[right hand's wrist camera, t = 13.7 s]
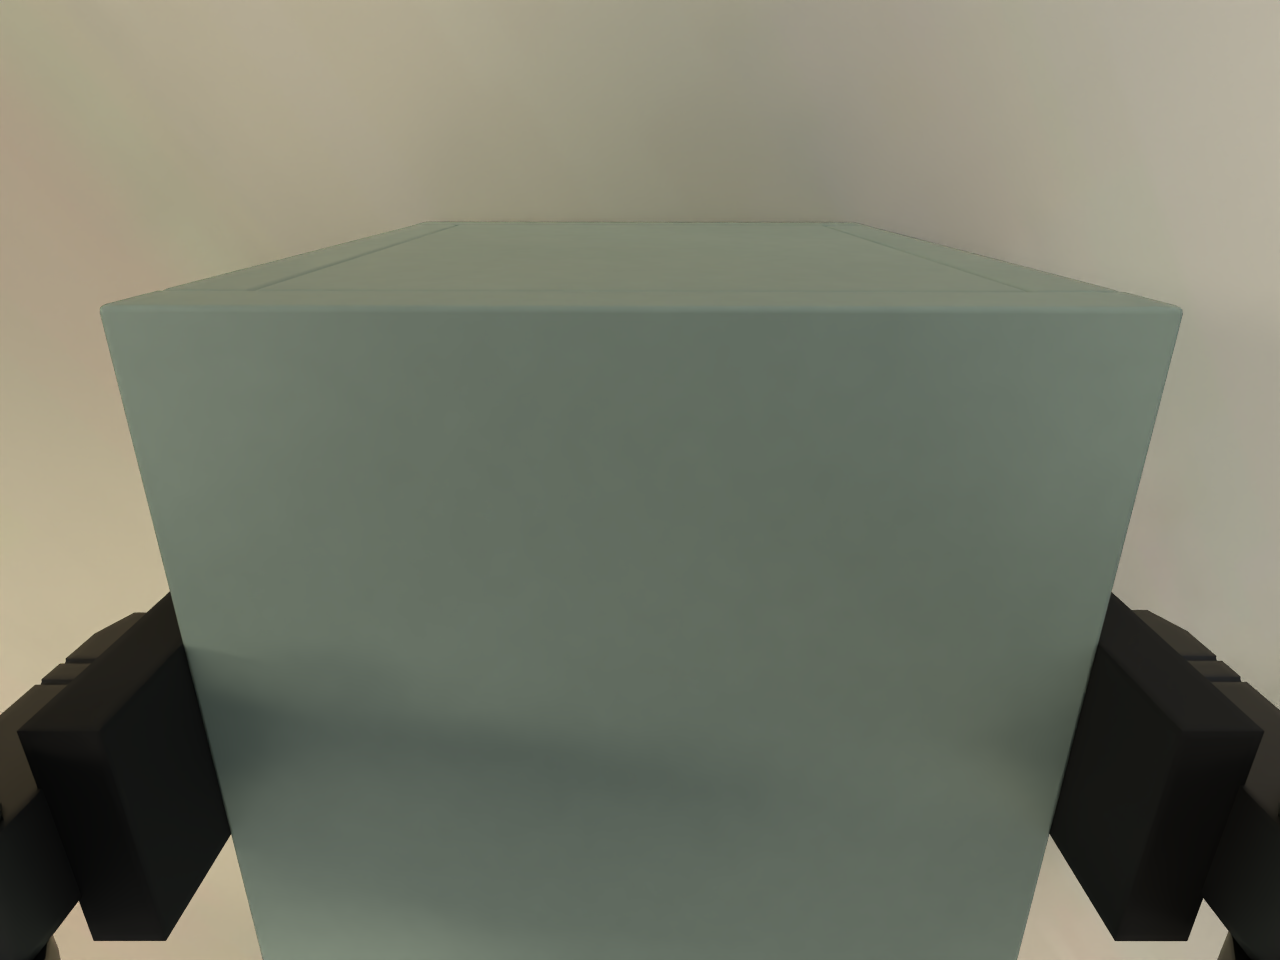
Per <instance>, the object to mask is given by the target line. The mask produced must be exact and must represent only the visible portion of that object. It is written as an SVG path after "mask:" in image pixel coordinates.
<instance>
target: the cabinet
mask: <svg viewBox="0 0 1280 960" xmlns="http://www.w3.org/2000/svg"><path fill="white" fill-rule="evenodd" d="M100 315H101V319H102V323H103V327H104V331H105V335H106V339H107V343H108V346H109V350H110V354H111V358H112V362H113V366H114V370H115V374H116V378H117V382H118V386H119V390H120V394H121V398H122V402H123V406H124V410H125V414H126V418H127V422H128V426H129V430H130V434H131V438H132V442H133V446H134V450H135V454H136V458H137V462H138V466H139V470H140V474H141V477H142V481H143V485H144V489H145V493H146V497H147V501H148V505H149V509H150V513H151V517H152V521H153V525H154V529H155V533H156V537H157V541H158V545H159V549H160V553H161V557H162V561H163V565H164V569H165V573H166V577H167V581H168V585H169V589H170V593H171V597H172V601H173V605H174V608H175V612H176V616H177V620H178V624H179V628H180V632H181V636H182V640H183V644H184V648H185V652H186V656H187V660H188V664H189V668H190V672H191V676H192V680H193V684H194V688H195V692H196V696H197V700H198V704H199V708H200V712H201V716H202V720H203V724H204V728H205V732H206V736H207V739H208V743H209V747H210V751H211V755H212V759H213V763H214V767H215V771H216V775H217V779H218V783H219V787H220V791H221V795H222V799H223V803H224V807H225V811H226V815H227V819H228V823H229V827H230V831H231V835H232V839H233V843H234V847H235V851H236V855H237V859H238V863H239V867H240V870H241V874H242V878H243V882H244V886H245V890H246V894H247V898H248V902H249V906H250V910H251V914H252V918H253V922H254V926H255V930H256V934H257V938H258V942H259V946H260V950H261V954H262V958H263V960H1017V958H1018V954H1019V950H1020V946H1021V942H1022V938H1023V934H1024V930H1025V926H1026V923H1027V919H1028V915H1029V911H1030V907H1031V903H1032V899H1033V895H1034V891H1035V888H1036V884H1037V880H1038V876H1039V872H1040V868H1041V864H1042V860H1043V856H1044V852H1045V849H1046V845H1047V841H1048V837H1049V833H1050V829H1051V825H1052V821H1053V817H1054V813H1055V810H1056V806H1057V802H1058V798H1059V794H1060V790H1061V786H1062V782H1063V778H1064V775H1065V771H1066V767H1067V763H1068V759H1069V755H1070V751H1071V747H1072V743H1073V739H1074V736H1075V732H1076V728H1077V724H1078V720H1079V716H1080V712H1081V708H1082V704H1083V700H1084V697H1085V693H1086V689H1087V685H1088V681H1089V677H1090V673H1091V669H1092V665H1093V662H1094V658H1095V654H1096V650H1097V646H1098V642H1099V638H1100V634H1101V630H1102V626H1103V623H1104V619H1105V615H1106V611H1107V607H1108V603H1109V599H1110V595H1111V591H1112V587H1113V584H1114V580H1115V576H1116V572H1117V568H1118V564H1119V560H1120V556H1121V552H1122V549H1123V545H1124V541H1125V537H1126V533H1127V529H1128V525H1129V521H1130V517H1131V513H1132V510H1133V506H1134V502H1135V498H1136V494H1137V490H1138V486H1139V482H1140V478H1141V474H1142V471H1143V467H1144V463H1145V459H1146V455H1147V451H1148V447H1149V443H1150V439H1151V436H1152V432H1153V428H1154V424H1155V420H1156V416H1157V412H1158V408H1159V404H1160V400H1161V397H1162V393H1163V389H1164V385H1165V381H1166V377H1167V373H1168V369H1169V365H1170V361H1171V358H1172V354H1173V350H1174V346H1175V342H1176V338H1177V334H1178V330H1179V326H1180V323H1181V319H1182V315H1183V313H1182V309H1181V308H1180V307H1178V306H1175V305H1171V304H1168V303H1164V302H1160V301H1156V300H1152V299H1148V298H1144V297H1140V296H1137V295H1133V294H1129V293H1125V292H1118V291H1115V290H1112V289H1108V288H1104V287H1100V286H1097V285H1093V284H1089V283H1085V282H1081V281H1077V280H1073V279H1070V278H1066V277H1062V276H1058V275H1054V274H1050V273H1046V272H1043V271H1039V270H1035V269H1031V268H1027V267H1023V266H1019V265H1015V264H1012V263H1008V262H1004V261H1000V260H996V259H992V258H988V257H985V256H981V255H977V254H973V253H969V252H965V251H961V250H958V249H954V248H950V247H946V246H942V245H938V244H934V243H931V242H927V241H923V240H919V239H915V238H911V237H907V236H904V235H900V234H896V233H892V232H888V231H884V230H880V229H877V228H873V227H869V226H865V225H862V224H858V223H822V222H424V223H420V224H416V225H413V226H409V227H405V228H401V229H398V230H394V231H390V232H386V233H382V234H378V235H374V236H370V237H366V238H362V239H359V240H355V241H351V242H347V243H343V244H339V245H335V246H331V247H327V248H324V249H320V250H316V251H312V252H308V253H304V254H300V255H296V256H292V257H288V258H285V259H281V260H277V261H273V262H269V263H265V264H261V265H257V266H253V267H250V268H246V269H242V270H238V271H234V272H230V273H226V274H222V275H218V276H214V277H211V278H207V279H203V280H199V281H195V282H191V283H187V284H183V285H179V286H176V287H172V288H168V289H165V290H163V291H155V292H151V293H147V294H143V295H139V296H135V297H131V298H128V299H124V300H120V301H116V302H112V303H108V304H105V305H103V306H101V308H100Z"/></svg>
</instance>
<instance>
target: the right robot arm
mask: <svg viewBox="0 0 1280 960" xmlns="http://www.w3.org/2000/svg"><path fill="white" fill-rule="evenodd" d="M1049 834H1050V835H1051V837H1052V838H1053V840H1054V842H1055V843H1056V845H1057V847H1058V848H1059V850H1060V852H1061V853H1062V855H1063V856H1064V858H1065V860H1066V861H1067V863H1068V865H1069V866H1070V868H1071V870H1072V871H1073V873H1074V875H1075V876H1076V878H1077V879H1078V881H1079V883H1080V884H1081V886H1082V888H1083V889H1084V891H1085V893H1086V894H1087V896H1088V897H1089V899H1090V901H1091V902H1092V904H1093V906H1094V907H1095V909H1096V911H1097V912H1098V914H1099V915H1100V917H1101V919H1102V920H1103V922H1104V924H1105V925H1106V927H1107V929H1108V930H1109V932H1110V934H1111V935H1112V937H1113V938H1114V940H1115V941H1187V940H1188V938H1189V935H1190V932H1191V930H1192V927H1193V924H1194V921H1195V919H1196V916H1197V913H1198V911H1199V908H1200V905H1201V902H1202V900H1203V898H1204V899H1205V901H1206V902H1207V903H1208V905H1209V906H1210V907H1211V909H1212V910H1213V911H1214V912H1215V914H1216V915H1217V916H1218V918H1219V919H1220V920H1221V922H1222V923H1223V924H1224V926H1225V927H1226V928H1227V929H1228V934H1227V937H1226V939H1225V942H1224V944H1223V947H1222V949H1221V952H1220V954H1219V957H1218V959H1217V960H1280V710H1279V709H1278V708H1277V707H1275V706H1274V705H1273V704H1272V703H1271V702H1270V701H1268V700H1267V699H1266V698H1265V697H1264V696H1262V695H1261V694H1260V693H1259V692H1258V691H1257V690H1255V689H1254V688H1253V687H1252V686H1251V685H1250V684H1248V683H1247V682H1241V680H1240V676H1239V675H1238V674H1237V673H1236V672H1234V671H1233V670H1232V669H1231V668H1230V667H1229V666H1227V665H1226V664H1225V663H1224V662H1223V661H1217V660H1216V655H1215V654H1213V653H1212V652H1211V651H1210V650H1209V649H1208V648H1206V647H1205V646H1204V645H1203V644H1202V643H1200V642H1199V641H1198V640H1197V639H1196V638H1195V637H1193V636H1192V635H1191V634H1190V633H1189V632H1188V631H1186V630H1184V629H1182V628H1180V627H1178V626H1176V625H1175V624H1173V623H1171V622H1169V621H1167V620H1165V619H1163V618H1161V617H1159V616H1158V615H1156V614H1154V613H1152V612H1150V611H1148V610H1131V609H1130V608H1128V607H1127V606H1126V605H1125V604H1124V603H1123V602H1122V601H1121V600H1120V599H1119V598H1117V597H1116V596H1115V595H1114V594H1113V593H1112V592H1111V595H1110V599H1109V603H1108V607H1107V611H1106V615H1105V619H1104V623H1103V626H1102V630H1101V634H1100V638H1099V642H1098V646H1097V650H1096V654H1095V658H1094V662H1093V665H1092V669H1091V673H1090V677H1089V681H1088V685H1087V689H1086V693H1085V697H1084V700H1083V704H1082V708H1081V712H1080V716H1079V720H1078V724H1077V728H1076V732H1075V736H1074V739H1073V743H1072V747H1071V751H1070V755H1069V759H1068V763H1067V767H1066V771H1065V775H1064V778H1063V782H1062V786H1061V790H1060V794H1059V798H1058V802H1057V806H1056V810H1055V813H1054V817H1053V821H1052V825H1051V829H1050V833H1049ZM230 835H231V831H230V827H229V823H228V819H227V815H226V811H225V807H224V803H223V799H222V795H221V791H220V787H219V783H218V779H217V775H216V771H215V767H214V763H213V759H212V755H211V751H210V747H209V743H208V739H207V736H206V732H205V728H204V724H203V720H202V716H201V712H200V708H199V704H198V700H197V696H196V692H195V688H194V684H193V680H192V676H191V672H190V668H189V664H188V660H187V656H186V652H185V648H184V644H183V640H182V636H181V632H180V628H179V624H178V620H177V616H176V612H175V608H174V605H173V601H172V597H171V593H170V592H169V593H168V594H167V595H166V596H165V597H163V598H162V599H161V600H160V601H159V602H158V603H157V604H156V605H155V606H154V607H152V608H151V609H150V610H149V611H148V612H147V613H133V614H131V615H129V616H127V617H125V618H123V619H121V620H120V621H118V622H116V623H114V624H112V625H110V626H108V627H106V628H105V629H103V630H101V631H99V632H97V633H95V634H94V635H93V636H91V637H90V638H89V639H88V640H87V641H86V642H84V643H83V644H82V645H81V646H80V647H79V648H78V649H76V650H75V651H74V652H73V653H72V654H71V655H69V656H68V657H67V658H66V662H65V664H59V665H58V666H57V667H55V668H54V669H53V670H52V671H51V672H50V673H48V674H47V675H46V676H45V677H44V678H43V679H42V683H41V685H35V686H33V687H32V688H31V689H30V690H29V691H28V692H26V693H25V694H24V695H23V696H22V697H21V698H19V699H18V700H17V701H16V702H15V703H14V704H13V705H11V706H10V707H9V708H8V709H7V710H6V711H4V712H3V713H2V714H1V715H0V960H60V955H59V950H58V947H57V944H56V942H55V939H54V937H53V934H54V932H55V931H56V930H57V929H58V927H59V926H60V925H61V923H62V922H63V921H64V919H65V918H66V917H67V915H68V914H69V913H70V911H71V910H72V909H73V908H74V906H75V905H76V904H77V902H78V901H79V902H80V905H81V908H82V910H83V913H84V916H85V918H86V921H87V924H88V927H89V929H90V932H91V935H92V937H93V940H94V941H166V940H167V938H168V937H169V935H170V933H171V932H172V930H173V928H174V927H175V925H176V923H177V922H178V920H179V918H180V917H181V915H182V914H183V912H184V910H185V909H186V907H187V905H188V904H189V902H190V900H191V899H192V897H193V896H194V894H195V892H196V891H197V889H198V887H199V886H200V884H201V882H202V881H203V879H204V878H205V876H206V874H207V873H208V871H209V869H210V868H211V866H212V864H213V863H214V861H215V859H216V858H217V856H218V855H219V853H220V851H221V850H222V848H223V846H224V845H225V843H226V841H227V840H228V838H229V837H230Z"/></svg>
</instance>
